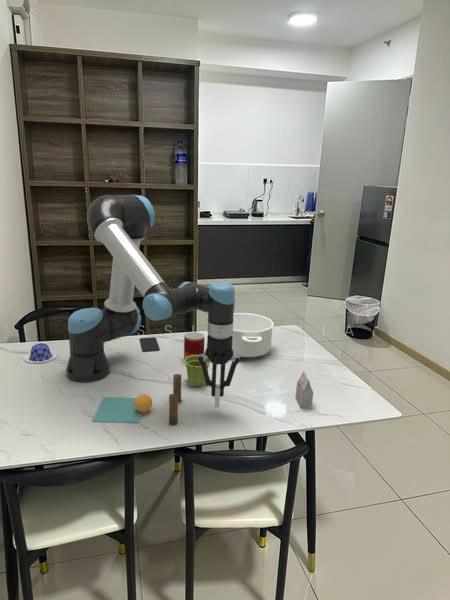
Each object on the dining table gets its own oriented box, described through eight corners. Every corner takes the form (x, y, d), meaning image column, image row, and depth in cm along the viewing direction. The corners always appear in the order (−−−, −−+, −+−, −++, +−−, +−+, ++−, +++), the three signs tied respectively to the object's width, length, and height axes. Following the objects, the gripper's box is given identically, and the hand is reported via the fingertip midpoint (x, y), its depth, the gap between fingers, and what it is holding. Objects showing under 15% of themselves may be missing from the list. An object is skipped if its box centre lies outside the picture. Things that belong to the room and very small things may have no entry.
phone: (155, 337, 187) (160, 349, 173) (155, 338, 187) (160, 351, 173) (139, 338, 185) (142, 351, 171) (139, 339, 185) (142, 353, 171)
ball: (153, 403, 125) (148, 418, 127) (155, 393, 131) (150, 408, 132) (136, 397, 124) (130, 413, 126) (138, 388, 130) (133, 403, 131)
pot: (212, 337, 191) (214, 309, 187) (262, 336, 194) (264, 309, 190) (222, 369, 159) (223, 336, 155) (281, 368, 163) (284, 335, 159)
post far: (172, 402, 135) (172, 377, 132) (173, 398, 137) (173, 373, 134) (180, 402, 135) (181, 377, 132) (181, 398, 137) (181, 374, 135)
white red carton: (306, 398, 141) (309, 371, 138) (311, 408, 135) (314, 381, 132) (295, 397, 141) (298, 371, 138) (300, 408, 135) (303, 381, 132)
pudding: (23, 366, 155) (22, 353, 153) (24, 353, 165) (23, 341, 164) (58, 362, 160) (57, 349, 158) (56, 350, 170) (55, 338, 168)
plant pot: (213, 379, 151) (214, 357, 149) (204, 391, 143) (204, 368, 140) (190, 374, 154) (190, 353, 151) (179, 386, 145) (179, 363, 143)
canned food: (203, 365, 162) (203, 339, 158) (182, 364, 162) (183, 338, 159) (204, 357, 169) (205, 332, 166) (184, 356, 169) (185, 331, 166)
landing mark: (91, 421, 122) (91, 421, 122) (104, 397, 136) (103, 396, 136) (139, 423, 123) (139, 422, 123) (146, 398, 136) (146, 398, 136)
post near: (168, 424, 122) (168, 398, 120) (169, 419, 125) (169, 393, 122) (177, 425, 123) (177, 398, 120) (178, 420, 125) (178, 393, 122)
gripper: (197, 338, 119) (195, 410, 126) (242, 340, 119) (238, 412, 126) (198, 329, 126) (196, 398, 133) (241, 331, 127) (237, 399, 133)
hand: (216, 404), depth 130 cm, fingers closed
